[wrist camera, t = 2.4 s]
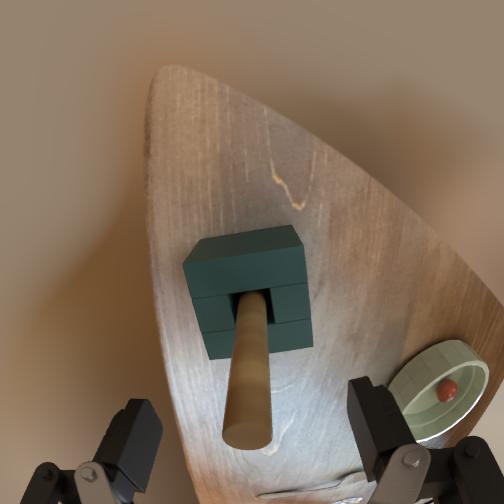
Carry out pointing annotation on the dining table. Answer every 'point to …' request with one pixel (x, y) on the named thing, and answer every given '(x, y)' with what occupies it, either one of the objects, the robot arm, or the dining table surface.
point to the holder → (250, 287)
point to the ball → (446, 390)
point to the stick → (249, 377)
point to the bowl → (427, 380)
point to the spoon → (346, 481)
